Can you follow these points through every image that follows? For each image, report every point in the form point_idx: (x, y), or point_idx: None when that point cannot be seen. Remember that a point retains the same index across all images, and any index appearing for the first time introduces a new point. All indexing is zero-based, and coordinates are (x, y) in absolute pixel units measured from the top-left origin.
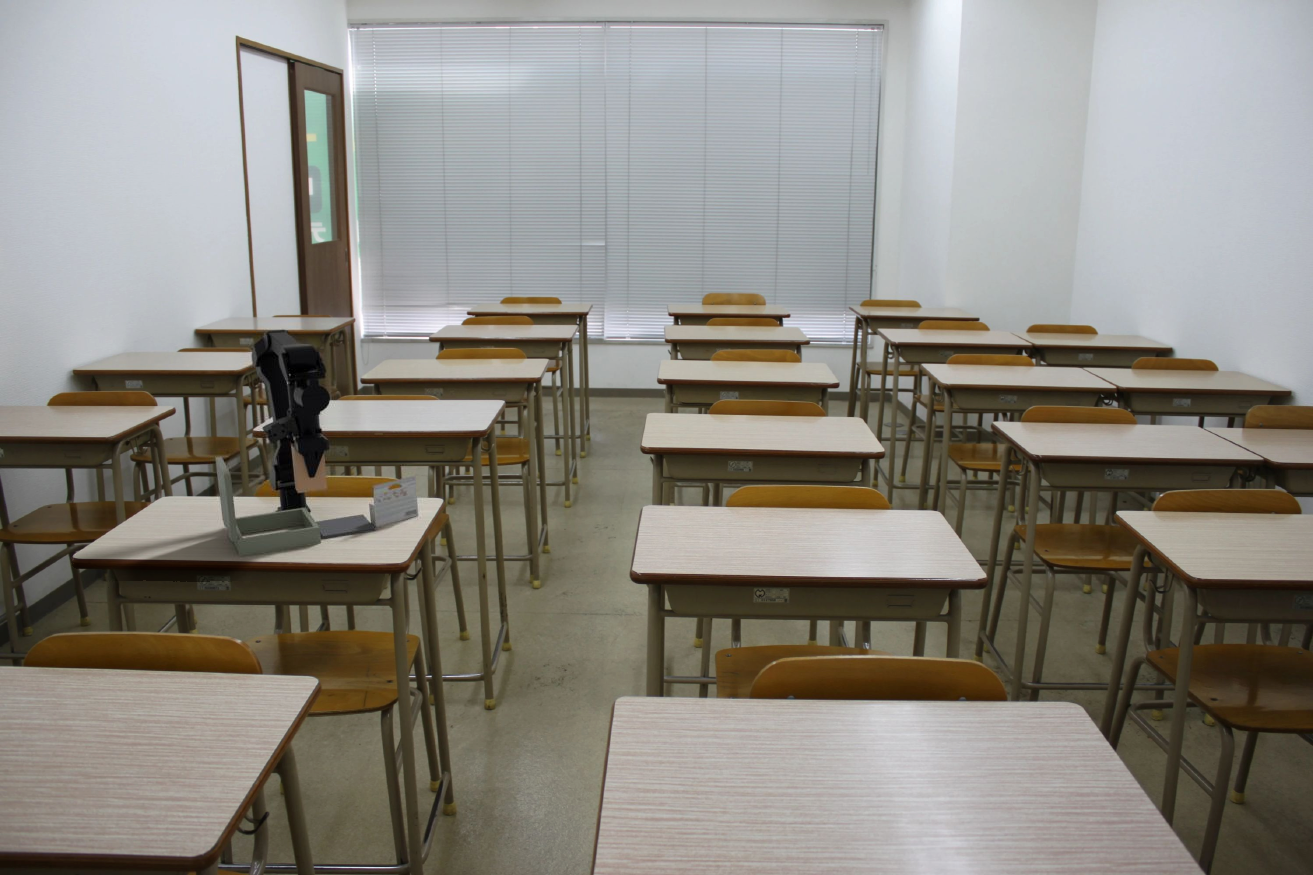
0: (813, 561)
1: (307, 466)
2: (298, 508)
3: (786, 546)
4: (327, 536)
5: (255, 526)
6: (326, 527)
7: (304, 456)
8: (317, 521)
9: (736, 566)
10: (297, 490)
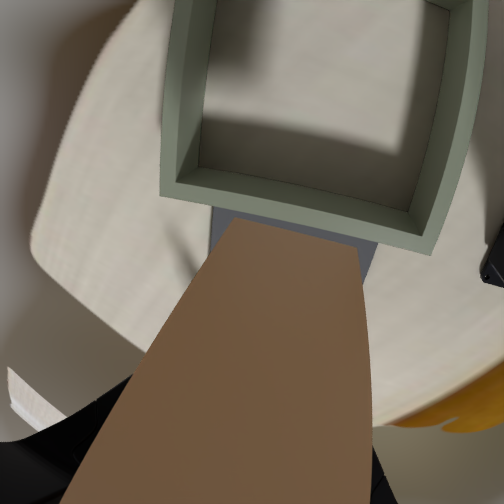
0: (26, 409)
1: (111, 394)
2: (496, 255)
3: (46, 423)
4: (214, 212)
5: (450, 65)
6: None
7: (18, 443)
8: (374, 250)
9: (18, 392)
10: (254, 227)
